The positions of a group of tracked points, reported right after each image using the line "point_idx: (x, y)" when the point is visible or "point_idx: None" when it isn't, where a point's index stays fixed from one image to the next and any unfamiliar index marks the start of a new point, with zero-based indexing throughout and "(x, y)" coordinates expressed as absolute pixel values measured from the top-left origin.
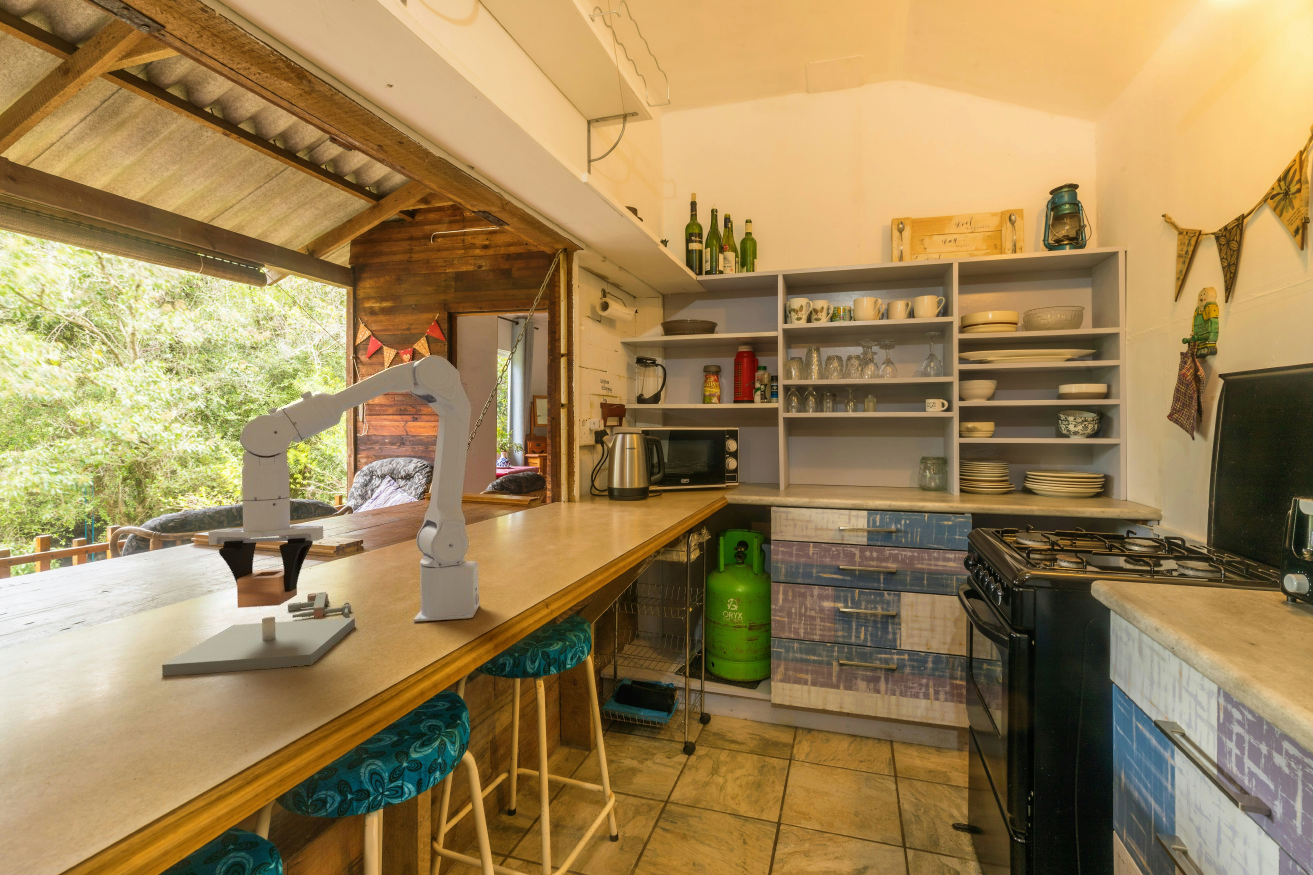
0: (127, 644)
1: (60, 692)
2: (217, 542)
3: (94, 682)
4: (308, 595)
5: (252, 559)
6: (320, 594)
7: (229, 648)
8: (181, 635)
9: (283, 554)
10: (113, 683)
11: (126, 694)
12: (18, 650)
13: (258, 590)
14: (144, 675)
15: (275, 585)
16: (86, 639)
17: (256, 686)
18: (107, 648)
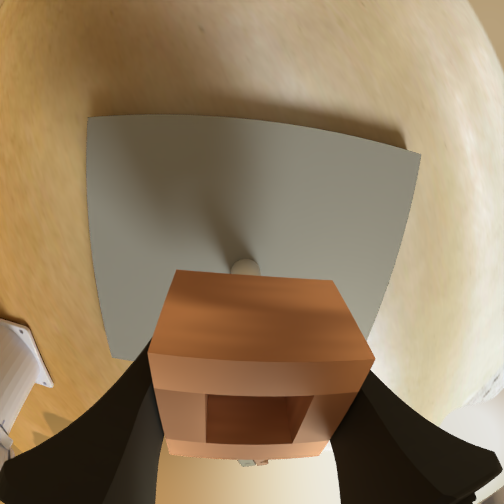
0: (467, 333)
1: (500, 147)
2: (493, 501)
3: (482, 172)
4: (267, 461)
5: (341, 487)
6: (246, 461)
7: (319, 220)
8: (417, 360)
9: (95, 478)
10: (462, 151)
11: (424, 77)
12: None
13: (261, 316)
14: (435, 172)
15: (174, 322)
16: (491, 352)
17: (178, 20)
18: (482, 321)
